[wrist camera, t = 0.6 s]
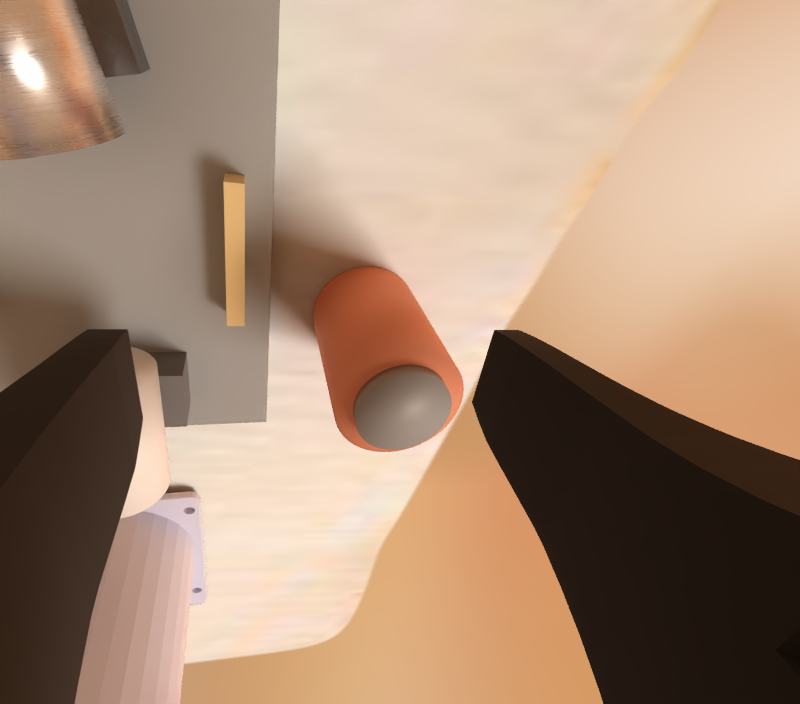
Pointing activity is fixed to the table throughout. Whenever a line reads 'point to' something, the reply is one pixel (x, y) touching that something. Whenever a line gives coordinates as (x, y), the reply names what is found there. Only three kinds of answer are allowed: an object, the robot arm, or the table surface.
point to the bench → (159, 228)
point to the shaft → (63, 73)
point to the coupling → (383, 362)
